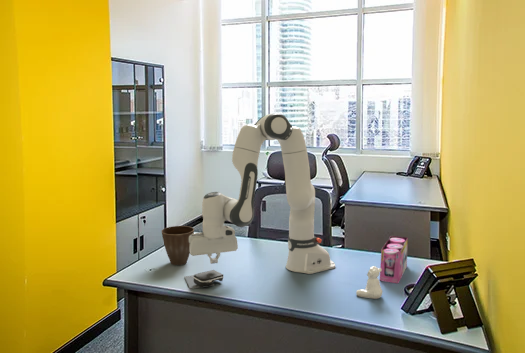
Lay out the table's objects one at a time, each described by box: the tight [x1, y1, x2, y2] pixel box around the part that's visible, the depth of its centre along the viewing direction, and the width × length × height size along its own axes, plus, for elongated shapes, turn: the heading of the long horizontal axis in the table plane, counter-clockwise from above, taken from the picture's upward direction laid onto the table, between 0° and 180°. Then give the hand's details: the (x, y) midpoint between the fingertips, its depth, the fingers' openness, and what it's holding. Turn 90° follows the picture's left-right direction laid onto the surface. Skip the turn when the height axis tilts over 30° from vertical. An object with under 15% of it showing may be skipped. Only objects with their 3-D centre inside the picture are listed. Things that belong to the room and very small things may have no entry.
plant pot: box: [161, 225, 195, 266], centre depth 205 cm, size 15×15×16 cm
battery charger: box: [193, 269, 224, 288], centre depth 179 cm, size 7×4×11 cm
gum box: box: [379, 235, 409, 284], centre depth 188 cm, size 24×8×14 cm, turn 154°
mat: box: [184, 274, 215, 290], centre depth 183 cm, size 10×13×1 cm
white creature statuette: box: [355, 265, 383, 300], centre depth 166 cm, size 10×9×12 cm
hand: (214, 262), depth 183 cm, fingers closed
